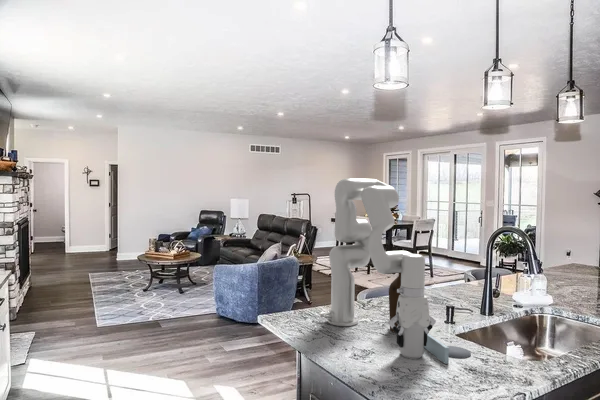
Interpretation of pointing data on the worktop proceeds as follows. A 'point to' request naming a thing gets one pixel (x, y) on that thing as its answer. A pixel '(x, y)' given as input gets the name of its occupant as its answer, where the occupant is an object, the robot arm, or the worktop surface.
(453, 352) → the coaster
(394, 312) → the olive oil
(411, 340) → the can
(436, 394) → the worktop surface
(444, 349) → the acrylic wall
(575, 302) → the worktop surface
